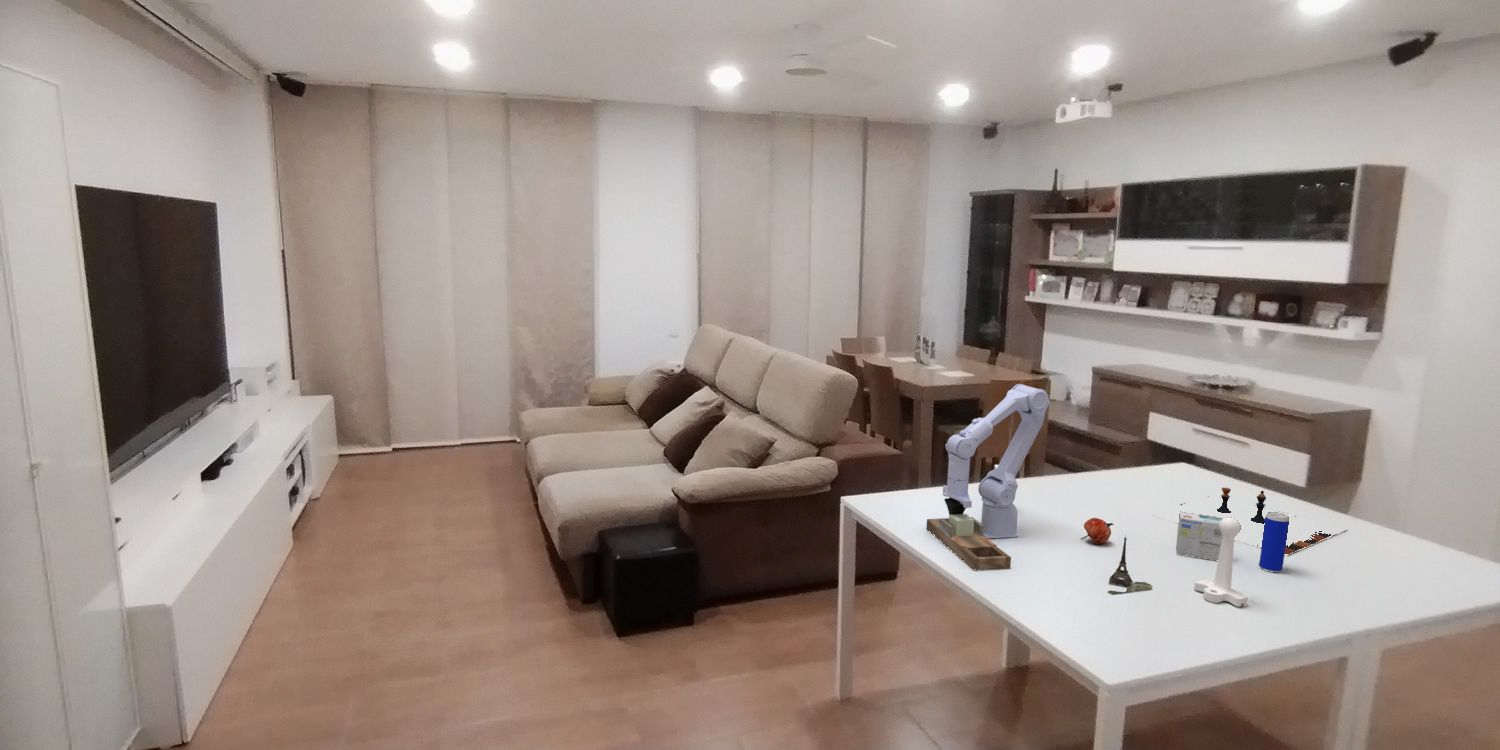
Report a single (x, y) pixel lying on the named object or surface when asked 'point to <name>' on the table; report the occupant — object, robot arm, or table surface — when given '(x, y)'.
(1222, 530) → the joystick
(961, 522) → the green block
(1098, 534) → the pomegranate
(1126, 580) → the eiffel tower figurine
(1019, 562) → the table surface
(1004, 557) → the brown wooden long tray
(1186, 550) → the light bulb box
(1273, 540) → the beverage can
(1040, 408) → the robot arm
